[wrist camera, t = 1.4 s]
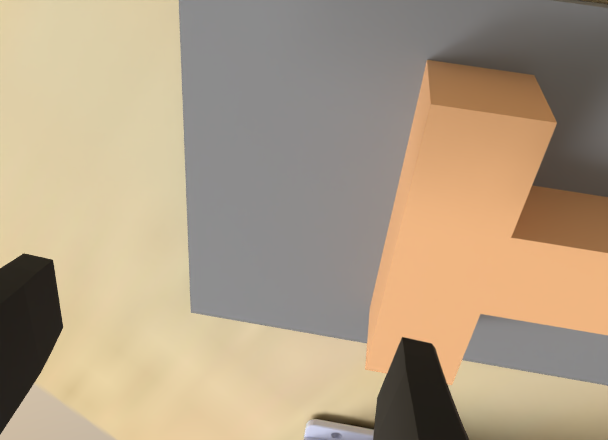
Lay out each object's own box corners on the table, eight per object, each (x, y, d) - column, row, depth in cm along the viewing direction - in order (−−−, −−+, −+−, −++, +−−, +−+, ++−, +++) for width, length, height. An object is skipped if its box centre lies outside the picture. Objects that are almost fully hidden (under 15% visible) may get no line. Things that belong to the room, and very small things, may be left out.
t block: (369, 307, 22) (365, 369, 20) (427, 59, 16) (430, 104, 14) (632, 353, 21) (660, 422, 19) (793, 112, 15) (865, 168, 13)
